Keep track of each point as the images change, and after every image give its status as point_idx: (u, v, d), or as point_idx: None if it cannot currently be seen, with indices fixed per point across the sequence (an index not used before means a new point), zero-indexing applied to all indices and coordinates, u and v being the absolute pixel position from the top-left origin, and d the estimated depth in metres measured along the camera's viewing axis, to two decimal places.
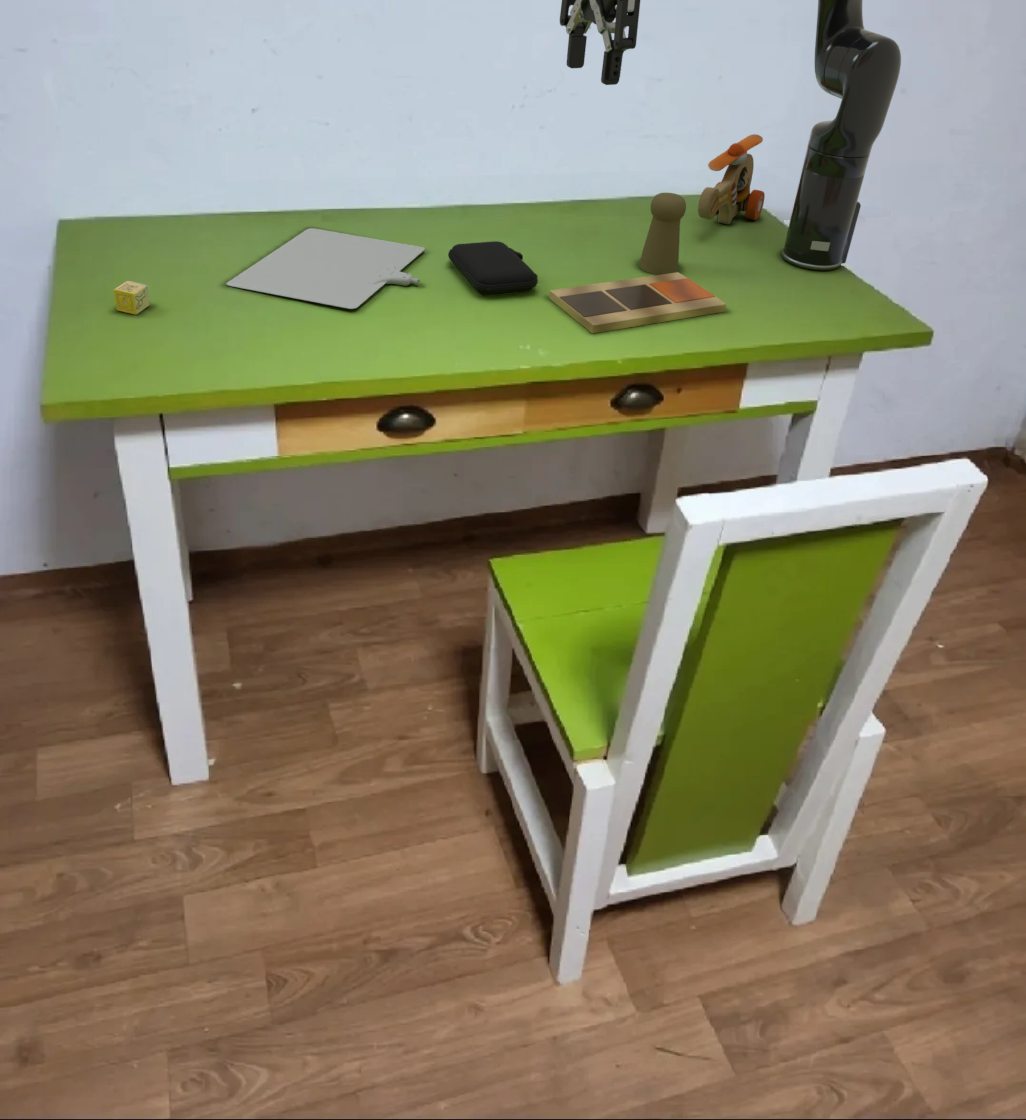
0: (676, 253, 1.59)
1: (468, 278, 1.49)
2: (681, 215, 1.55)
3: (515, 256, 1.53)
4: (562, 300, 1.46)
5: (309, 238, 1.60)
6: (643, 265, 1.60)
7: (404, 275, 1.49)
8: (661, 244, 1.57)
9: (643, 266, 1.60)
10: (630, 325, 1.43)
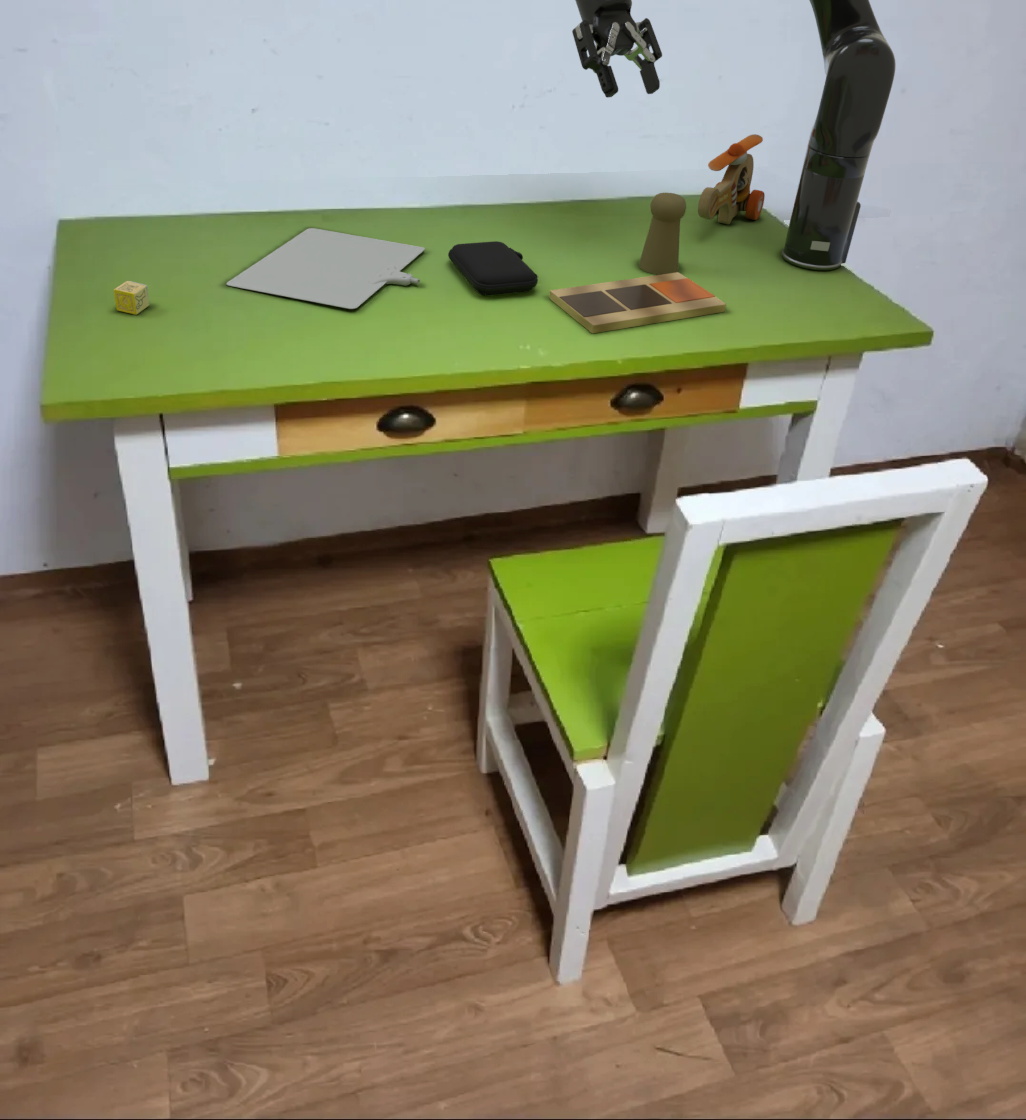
0: (676, 253, 1.59)
1: (468, 278, 1.49)
2: (681, 215, 1.55)
3: (515, 256, 1.53)
4: (562, 300, 1.46)
5: (309, 238, 1.60)
6: (643, 265, 1.60)
7: (404, 275, 1.49)
8: (661, 244, 1.57)
9: (643, 266, 1.60)
10: (630, 325, 1.43)
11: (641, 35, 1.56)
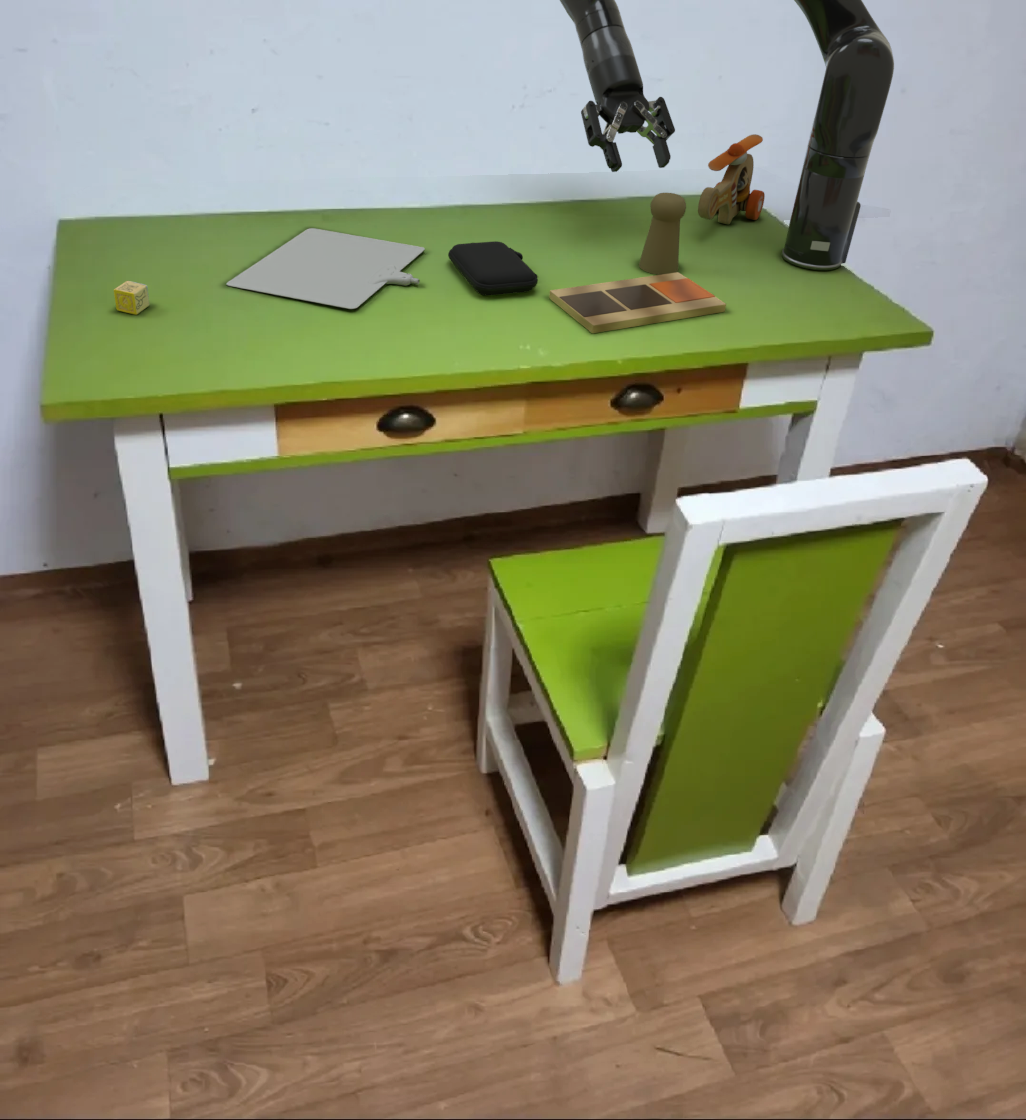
0: (676, 253, 1.59)
1: (468, 278, 1.49)
2: (681, 215, 1.55)
3: (515, 256, 1.53)
4: (562, 300, 1.46)
5: (309, 238, 1.60)
6: (643, 265, 1.60)
7: (404, 275, 1.49)
8: (661, 244, 1.57)
9: (643, 266, 1.60)
10: (630, 325, 1.43)
11: (655, 113, 1.62)
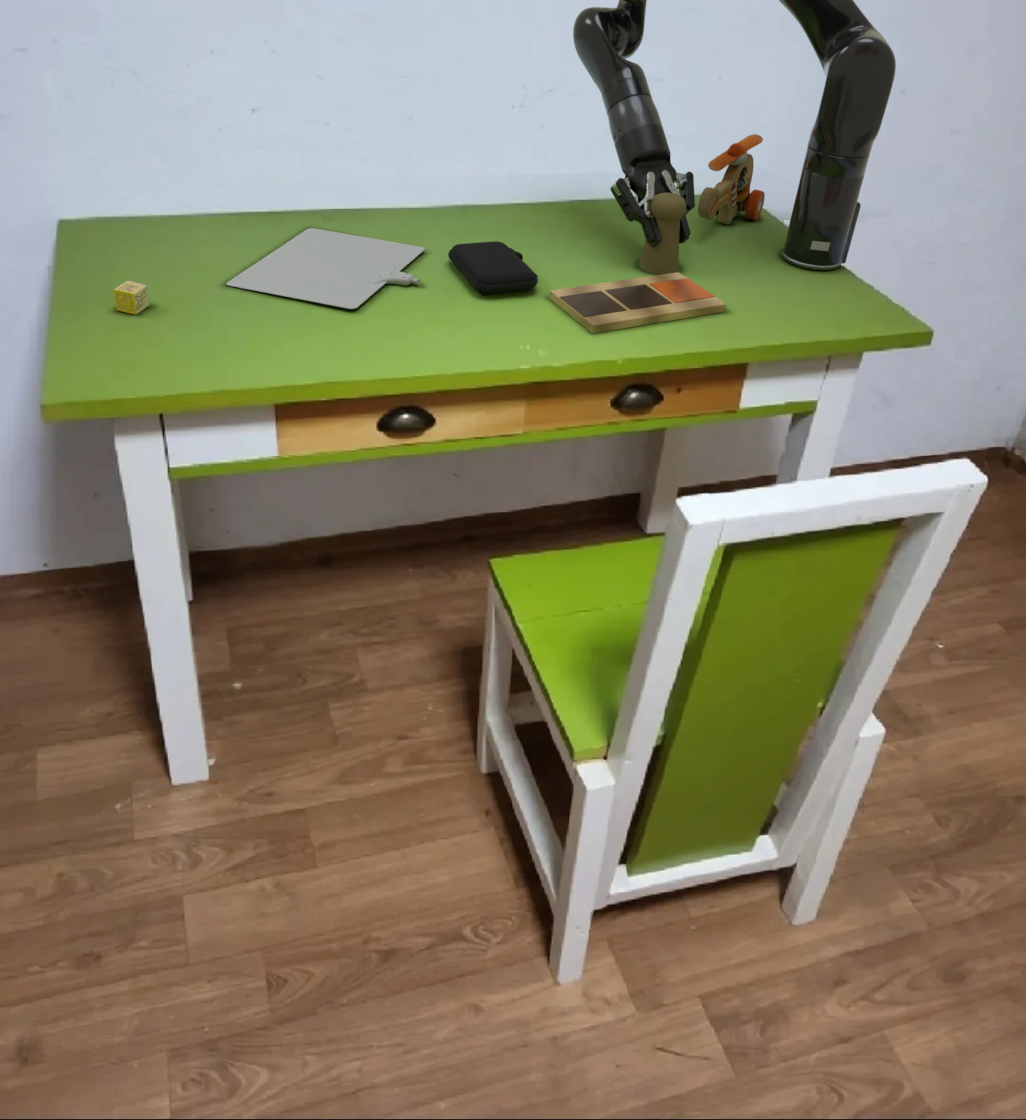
0: (676, 253, 1.59)
1: (468, 278, 1.49)
2: (681, 215, 1.55)
3: (515, 256, 1.53)
4: (562, 300, 1.46)
5: (309, 238, 1.60)
6: (643, 265, 1.60)
7: (404, 275, 1.49)
8: (661, 244, 1.57)
9: (643, 266, 1.60)
10: (630, 325, 1.43)
11: (680, 185, 1.60)
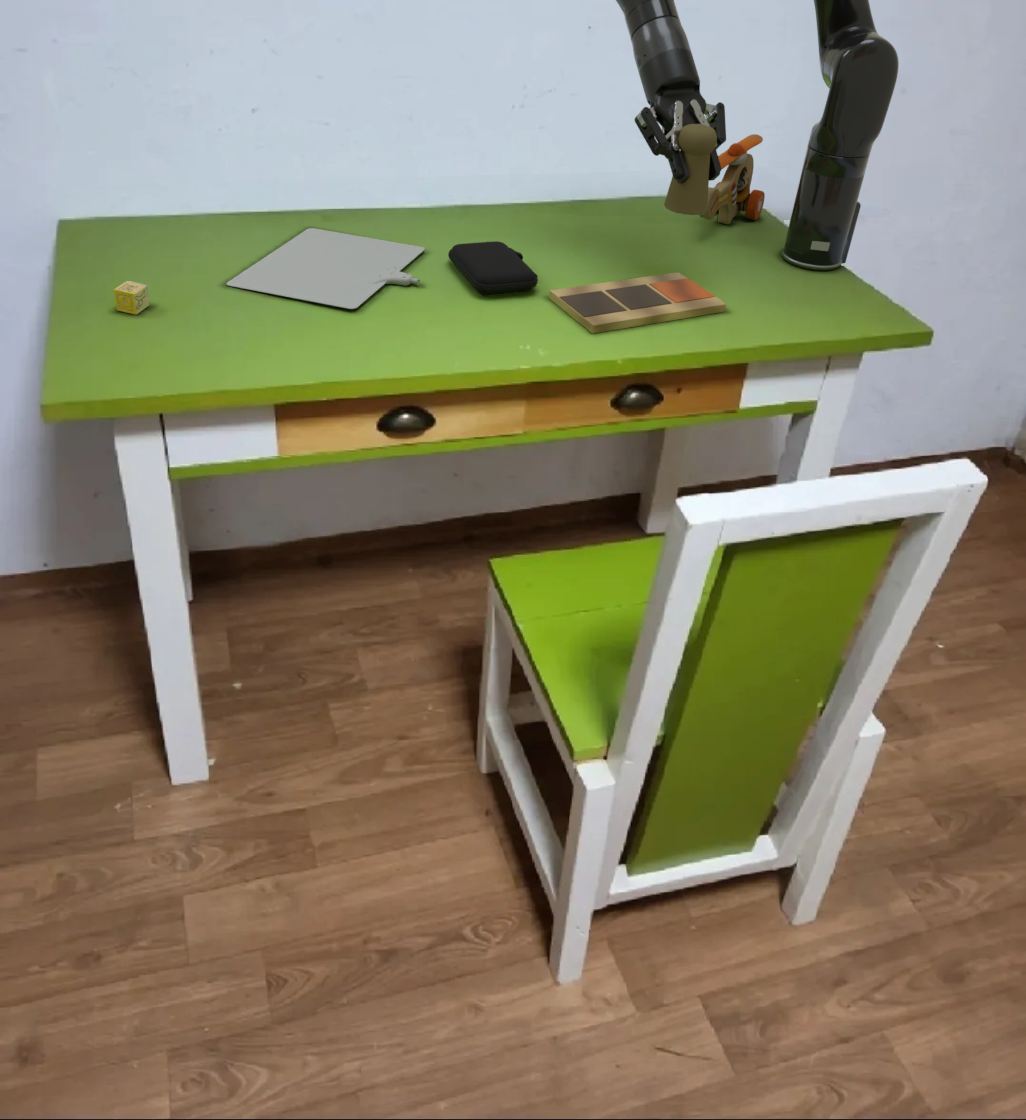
0: (705, 191, 1.46)
1: (468, 278, 1.49)
2: (712, 148, 1.42)
3: (515, 256, 1.53)
4: (562, 300, 1.46)
5: (309, 238, 1.60)
6: (669, 204, 1.47)
7: (404, 275, 1.49)
8: (690, 180, 1.44)
9: (669, 205, 1.47)
10: (630, 325, 1.43)
11: (710, 117, 1.47)
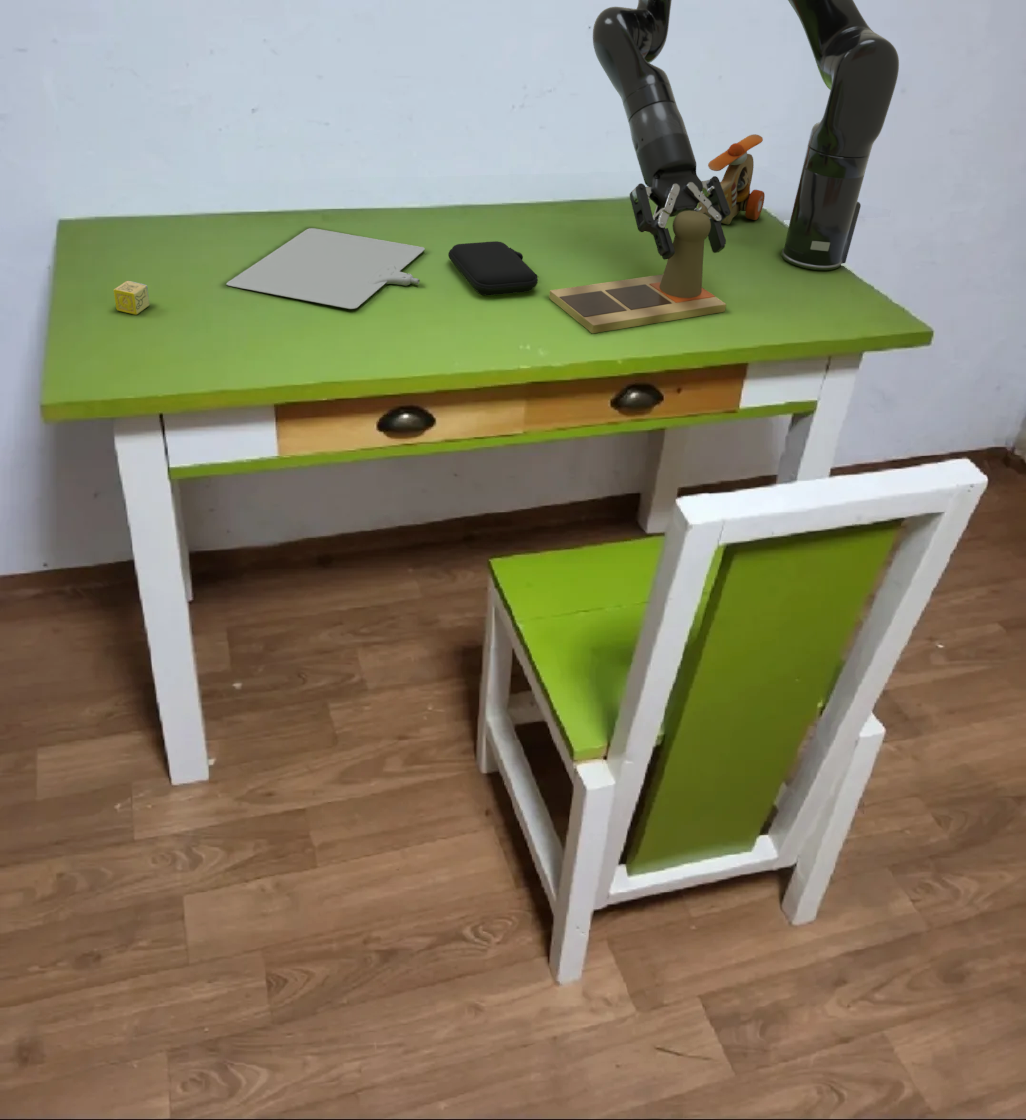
0: (700, 275, 1.49)
1: (468, 278, 1.49)
2: (706, 235, 1.46)
3: (515, 256, 1.53)
4: (562, 300, 1.46)
5: (309, 238, 1.60)
6: (664, 287, 1.50)
7: (404, 275, 1.49)
8: (684, 265, 1.47)
9: (664, 288, 1.51)
10: (630, 325, 1.43)
11: (708, 193, 1.50)
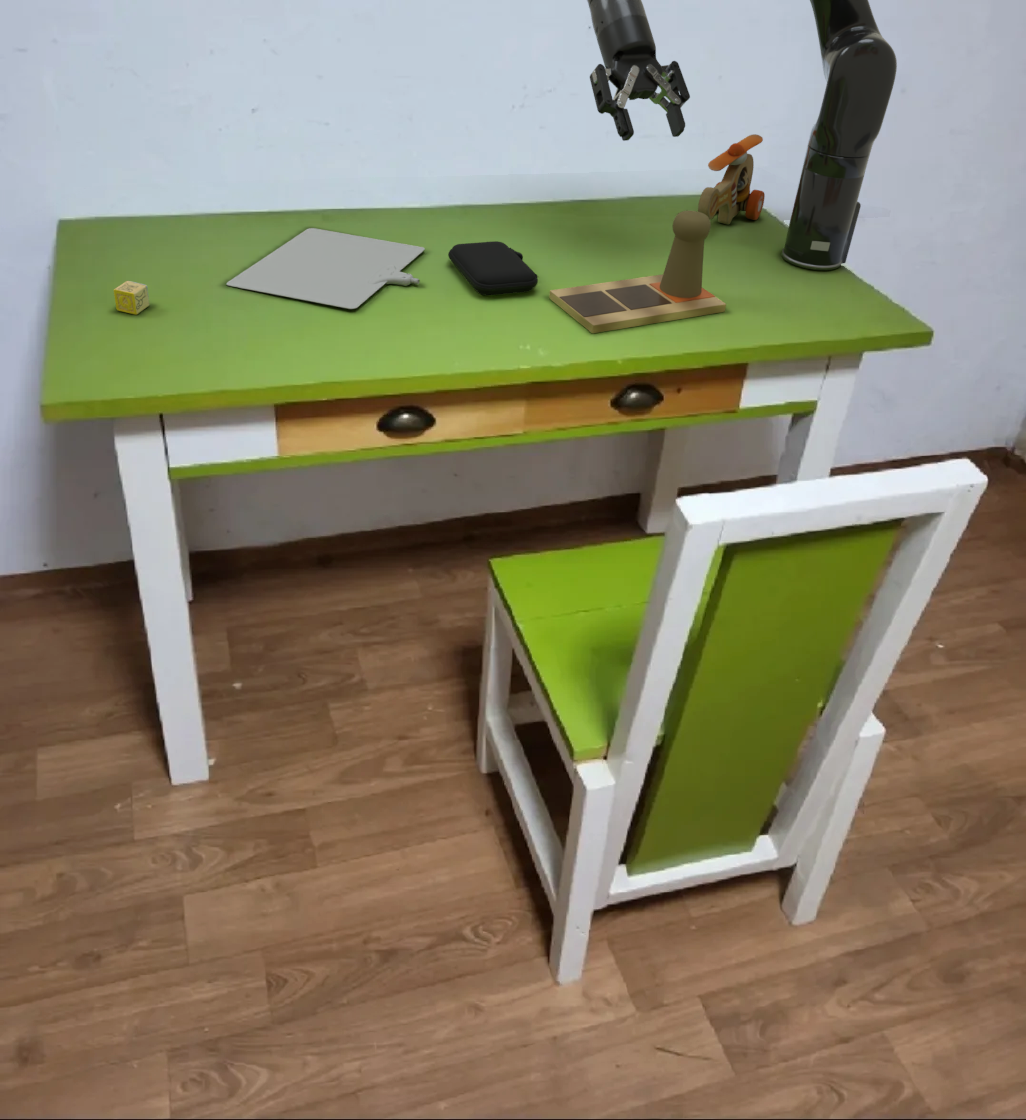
0: (700, 275, 1.49)
1: (468, 278, 1.49)
2: (705, 235, 1.46)
3: (515, 256, 1.53)
4: (562, 300, 1.46)
5: (309, 238, 1.60)
6: (664, 287, 1.50)
7: (404, 275, 1.49)
8: (684, 265, 1.47)
9: (664, 288, 1.51)
10: (630, 325, 1.43)
11: (668, 78, 1.52)
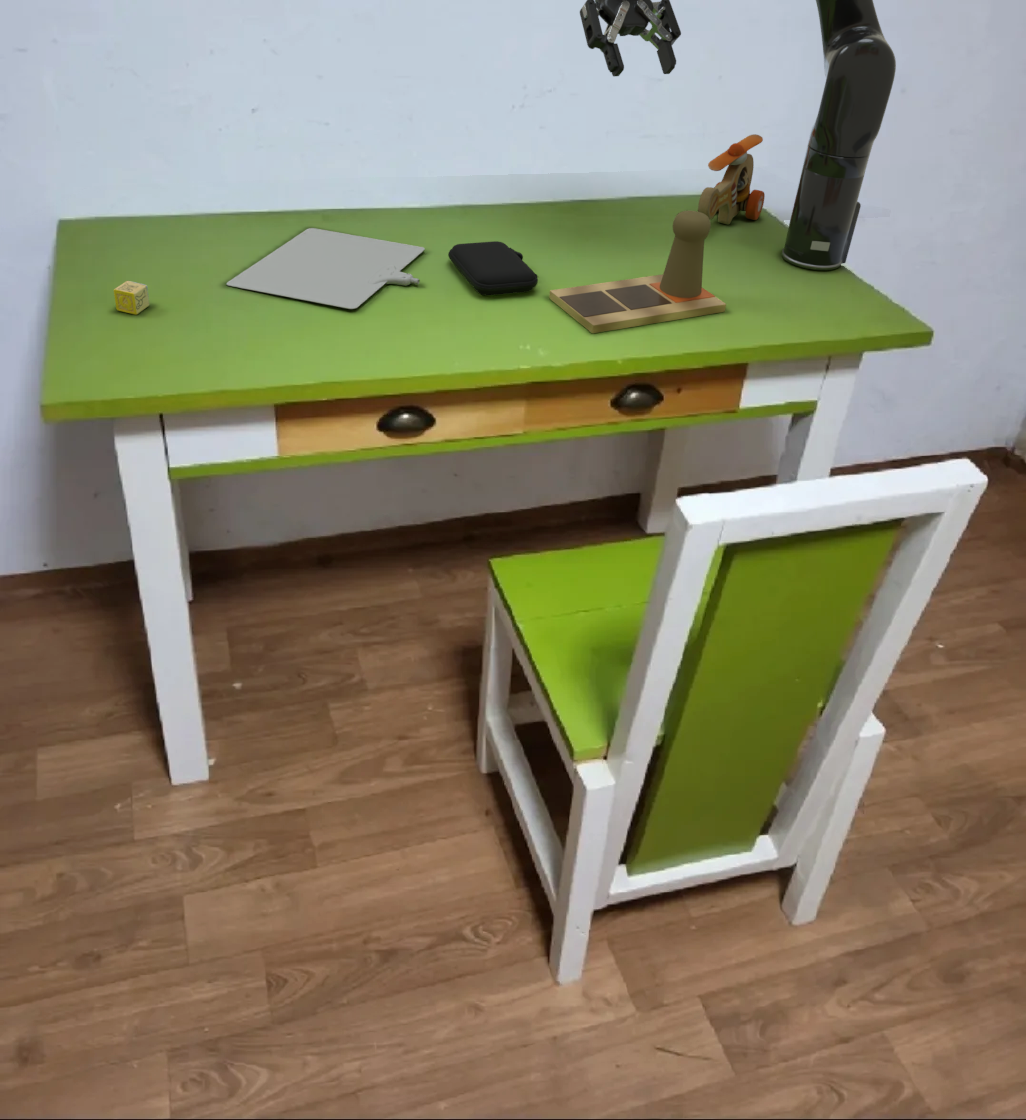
0: (700, 275, 1.49)
1: (468, 278, 1.49)
2: (705, 235, 1.46)
3: (515, 256, 1.53)
4: (562, 300, 1.46)
5: (309, 238, 1.60)
6: (664, 287, 1.50)
7: (404, 275, 1.49)
8: (684, 265, 1.47)
9: (664, 288, 1.51)
10: (630, 325, 1.43)
11: (659, 15, 1.51)
